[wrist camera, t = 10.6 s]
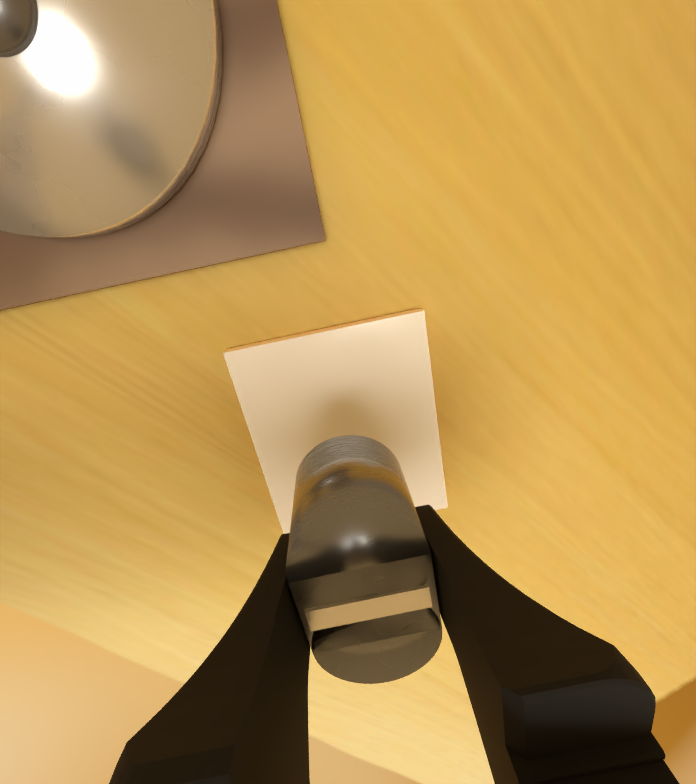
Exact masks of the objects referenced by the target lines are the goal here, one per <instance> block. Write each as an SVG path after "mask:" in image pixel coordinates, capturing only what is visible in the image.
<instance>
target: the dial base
mask: <svg viewBox="0 0 696 784" xmlns="http://www.w3.org/2000/svg"><path fill="white" fill-rule="evenodd" d="M217 1H218V7H219V15H220V24H221V33H222V77H221V87H220V97H219V102H218V106H217V111H216V115H215V120H214V124H213V127H212V130H211V133H210V136H209V138H208V141H207V144H206V147H205V149H204V151H203V153H202V155H201V157H200V159H199V161H198V163H197V164H196V166H195V168H194V170H193V172H192V173H191V174H190V176H189V177H188V178H187V180H186V181H185V183H184V184H183V185H182V187H181V188H180V189H179V190H178V191H177V192H176V193H175V194H174V195H173V196H172V197H171V198H170V199H169V200H168V201H167V202H166V203H165V204H164V205H163V206H162V207H160V208H159V209H158V210H156V211H155V212H153V213H152V214H151V215H149V216H148V217H146V218H144V219H142V220H140V221H139V222H137V223H135V224H133V225H131V226H129V227H126V228H123V229H120V230H117V231H114V232H111V233H108V234H102V235H96V236H90V237H72V238H57V237H39V236H29V235H20V234H14V233H10V232H6V231H2V230H0V310H3V309H8V308H13V307H17V306H22V305H27V304H31V303H36V302H41V301H45V300H50V299H55V298H59V297H64V296H69V295H73V294H78V293H83V292H88V291H92V290H97V289H102V288H106V287H111V286H116V285H120V284H125V283H130V282H134V281H139V280H144V279H148V278H153V277H158V276H162V275H167V274H172V273H176V272H181V271H186V270H190V269H195V268H200V267H204V266H209V265H214V264H218V263H223V262H228V261H232V260H237V259H242V258H246V257H251V256H256V255H260V254H265V253H270V252H274V251H279V250H284V249H288V248H293V247H298V246H302V245H307V244H312V243H316V242H321V241H325V235H324V230H323V225H322V220H321V216H320V211H319V206H318V201H317V196H316V191H315V186H314V181H313V176H312V172H311V167H310V162H309V157H308V152H307V147H306V142H305V137H304V132H303V128H302V123H301V118H300V113H299V108H298V103H297V98H296V93H295V88H294V84H293V79H292V74H291V69H290V64H289V59H288V54H287V49H286V44H285V40H284V35H283V30H282V25H281V20H280V15H279V10H278V5H277V0H217Z"/></svg>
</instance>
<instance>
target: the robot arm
mask: <svg viewBox="0 0 696 784" xmlns="http://www.w3.org/2000/svg"><path fill="white" fill-rule="evenodd" d="M415 509H416V512H417V514H418V517H419V520H420V523H421V526H422V528H423V531H424V534H425V537H426V540H427V542H428V545H429V548H430V553H431V559H432V565H433V572H434V578H435V585H436V592H437V598H438V605H439V612H440V614H441V617H442V619H443V622H444V624H445V627H446V629H447V632H448V634H449V637H450V639H451V642H452V644H453V647H454V650H455V653H456V656H457V659H458V662H459V665H460V668H461V671H462V675H463V678H464V681H465V685H466V688H467V691H468V694H469V698H470V701H471V704H472V708H473V711H474V714H475V718H476V721H477V724H478V728H479V731H480V734H481V738H482V741H483V745H484V748H485V751H486V755H487V758H488V762H489V765H490V768H491V772H492V775H493V779H494V782H495V784H679V783H678V781H677V780H676V778H675V777H674V775H673V774H672V772H671V771H670V769H669V768H668V766H667V765H666V763H665V762H664V760H663V759H665V754H664V751H663V749H662V748H661V746H660V745H659V743H658V742H657V740H656V739H655V737H654V736H653V735H652V733H651V730H652V723H653V719H654V713H655V696H654V694H653V693H652V691H651V689H650V688H649V686H648V685H647V684H646V682H645V681H644V680H643V678H642V677H641V676H640V674H639V673H638V672H637V671H636V670H635V668H634V667H633V666H632V665H631V664H630V663H629V662H628V661H627V659H626V658H625V657H624V656H623V655H622V654H621V653H620V652H619V651H618V650H617V648H616V647H615V646H614V645H612V644H610V643H608V642H606V641H604V640H602V639H600V638H598V637H596V636H594V635H592V634H590V633H588V632H586V631H584V630H582V629H580V628H578V627H576V626H575V625H573V624H571V623H570V622H568V621H566V620H564V619H563V618H561V617H559V616H558V615H556V614H554V613H553V612H551V611H550V610H548V609H547V608H545V607H543V606H542V605H540V604H539V603H537V602H536V601H534V600H533V599H531V598H530V597H528V596H527V595H525V594H524V593H522V592H521V591H520V590H518V589H517V588H515V587H514V586H513V585H511V584H510V583H509V582H507V581H506V580H505V579H504V578H502V577H501V576H500V575H498V574H497V573H496V572H495V571H494V570H492V569H491V568H490V567H489V566H488V565H487V564H485V563H484V562H483V561H482V560H481V559H480V558H479V557H478V556H476V555H475V554H474V553H473V552H472V551H471V550H470V549H469V548H468V547H467V546H466V545H465V544H464V543H463V542H462V541H461V540H460V539H459V538H458V537H457V536H456V535H455V534H454V533H453V532H452V530H451V529H450V528H449V527H448V526H447V525H446V524H445V523H444V521H443V520H442V519H441V518H440V517H439V515H438V514H437V513H436V511H435V510H434V509H433V507H432V506H430V505H429V504H428V505H423V506H418V507H415ZM289 534H290V533H286V534H282V535H281V537H280V538H279V541H278V543H277V545H276V547H275V549H274V551H273V553H272V555H271V557H270V559H269V561H268V563H267V565H266V567H265V569H264V571H263V573H262V575H261V577H260V578H259V580H258V582H257V584H256V586H255V588H254V589H253V591H252V593H251V594H250V596H249V598H248V599H247V601H246V603H245V604H244V606H243V608H242V609H241V611H240V612H239V614H238V616H237V617H236V619H235V620H234V622H233V623H232V625H231V626H230V628H229V629H228V630H227V632H226V633H225V635H224V636H223V637H222V639H221V640H220V642H219V643H218V644H217V645H216V647H215V648H214V649H213V651H212V652H211V653H210V655H209V656H208V657H207V658H206V660H205V661H204V662H203V663H202V665H201V666H200V667H199V668H198V669H197V671H196V672H195V673H194V674H193V675H192V676H191V678H190V679H189V680H188V681H187V682H186V683H185V684H184V685H183V687H182V688H181V689H180V690H179V691H178V692H177V693H176V694H175V695H174V696H173V697H172V698H171V700H170V701H169V702H168V703H167V704H166V705H165V706H164V707H163V708H162V709H161V710H160V711H159V712H158V713H157V714H156V715H155V716H154V717H153V718H152V719H151V720H150V721H149V722H148V723H147V724H146V725H145V726H144V727H142V728H141V730H139V731H138V732H137V733H136V734H135V735H134V736H133V737H132V738H131V739H130V740H129V741H128V742H127V743H126V745H125V748H124V750H123V752H122V754H121V757H120V758H119V761H118V763H117V765H116V768H115V770H114V773H113V775H112V778H111V780H110V783H109V784H310V781H309V750H308V749H309V748H308V747H309V746H308V670H309V656H310V644H309V641H308V638H307V635H306V632H305V629H304V626H303V624H302V621H301V618H300V615H299V612H298V609H297V607H296V604H295V601H294V598H293V595H292V592H291V590H290V587H289V584H288V580H287V577H286V561H287V552H288V543H289Z"/></svg>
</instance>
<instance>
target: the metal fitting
mask: <svg viewBox="0 0 696 784" xmlns="http://www.w3.org/2000/svg"><path fill="white" fill-rule="evenodd" d="M286 577H287V580H288V584H289V587H290V590H291V592H292V595H293V598H294V601H295V604H296V607H297V609H298V612H299V615H300V618H301V621H302V624H303V626H304V629H305V632H306V635H307V638H308V641H309V644H310V646H311V649H312V652H313V655H314V657H315V659H316V660H317V662H318V663H319V665H320V666H321V667H322V668H323V669H324V670H326V671H327V672H328V673H330V674H332V675H333V676H335V677H338V678H340V679H343V680H346V681H350V682H355V683H364V684H373V683H383V682H389V681H393V680H397V679H400V678H403V677H405V676H407V675H409V674H411V673H413V672H415V671H417V670H418V669H420V668H421V667H423V666H424V665H425V664H426V663H427V662H428V661H429V660H430V659H431V658H432V657H433V656H434V654H435V653H436V652H437V650H438V648H439V646H440V643H441V639H442V625H441V618H440V612H439V605H438V598H437V592H436V585H435V578H434V572H433V565H432V559H431V553H430V548H429V545H428V542H427V540H426V537H425V534H424V531H423V528H422V526H421V523H420V520H419V517H418V514H417V512H416V509H415V506H414V503H413V500H412V498H411V495H410V492H409V489H408V486H407V484H406V481H405V478H404V475H403V472H402V470H401V467H400V464H399V462H398V460H397V458H396V457H395V455H394V454H393V453H392V452H391V450H389V449H388V448H387V447H386V446H385V445H383V444H382V443H380V442H378V441H376V440H374V439H371V438H368V437H364V436H357V435H345V436H338V437H335V438H331V439H329V440H326V441H324V442H322V443H320V444H318V445H317V446H316V447H314V448H313V449H312V450H311V451H310V452H309V453H308V454H307V455H306V456H305V457H304V458H303V460H302V462H301V463H300V465H299V468H298V471H297V474H296V482H295V490H294V499H293V508H292V517H291V526H290V534H289V543H288V552H287V561H286Z"/></svg>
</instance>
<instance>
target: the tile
mask: <svg viewBox="0 0 696 784" xmlns="http://www.w3.org/2000/svg"><path fill="white" fill-rule="evenodd" d="M223 355H224V358H225V361H226V364H227V367H228V370H229V373H230V376H231V379H232V382H233V385H234V388H235V391H236V394H237V397H238V400H239V403H240V406H241V409H242V412H243V414H244V417H245V420H246V423H247V426H248V429H249V432H250V435H251V438H252V441H253V444H254V447H255V450H256V453H257V456H258V459H259V462H260V465H261V468H262V471H263V474H264V477H265V480H266V483H267V486H268V489H269V492H270V495H271V498H272V501H273V504H274V507H275V510H276V513H277V516H278V519H279V522H280V525H281V528H282V531H283V534H286V533H290V526H291V517H292V508H293V499H294V490H295V482H296V474H297V471H298V468H299V465H300V463H301V462H302V460H303V458H304V457H305V456H306V455H307V454H308V453H309V452H310V451H311V450H312V449H313V448H314V447H316V446H317V445H318V444H320V443H322V442H324V441H326V440H329V439H331V438H335V437H338V436H345V435H357V436H364V437H368V438H371V439H374V440H376V441H378V442H380V443H382V444H383V445H385V446H386V447H387V448H388V449H389V450H391V452H392V453H393V454H394V455H395V457H396V458H397V460H398V462H399V464H400V467H401V470H402V472H403V475H404V478H405V481H406V484H407V486H408V489H409V492H410V495H411V498H412V500H413V503H414V506H415V507H418V506H423V505H428V504H429V505H430V506H432V507H433V509H434V510H438V509H443V508H448V505H447V496H446V488H445V480H444V471H443V463H442V455H441V446H440V438H439V430H438V421H437V413H436V405H435V396H434V388H433V380H432V371H431V363H430V355H429V346H428V338H427V330H426V321H425V313H424V310H423V309H421V308H418V309H413V310H408V311H404V312H399V313H394V314H389V315H385V316H380V317H375V318H371V319H366V320H361V321H356V322H352V323H347V324H342V325H337V326H333V327H328V328H323V329H318V330H314V331H309V332H304V333H300V334H295V335H290V336H285V337H281V338H276V339H271V340H266V341H262V342H257V343H252V344H247V345H243V346H238V347H233V348H229V349H226V350H225V351H224V352H223Z"/></svg>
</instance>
